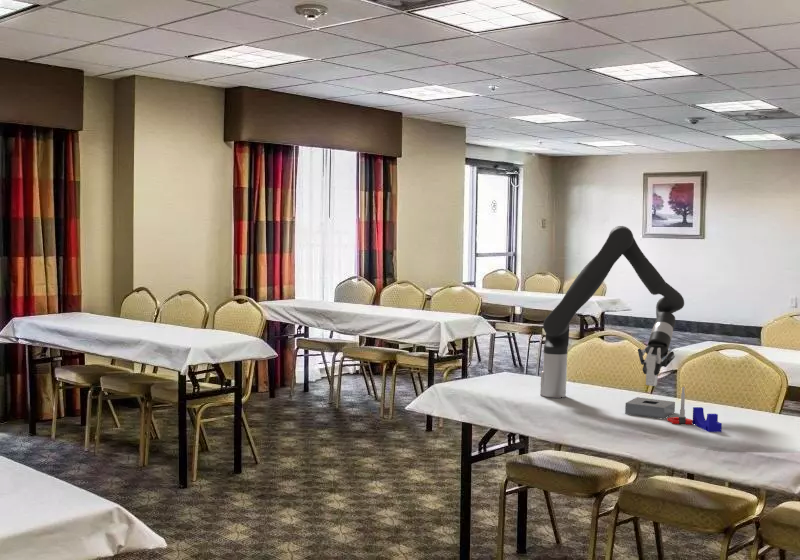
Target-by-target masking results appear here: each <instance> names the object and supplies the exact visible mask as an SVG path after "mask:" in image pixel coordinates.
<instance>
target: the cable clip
mask: <svg viewBox="0 0 800 560" xmlns="http://www.w3.org/2000/svg"><path fill="white" fill-rule="evenodd" d="M718 417H719V414H718V413H707V414H706V417H705V413H704V407H701V406H700V407H699V406H697V407H695V406H694V407H692V420H693V422H692V423H693V424H692V425H694V424H695V425H694V426H696V427H698V428H700V429H702V430H704V431H706V432H708V433H722V427H723V426H722V423H721V422H719V421H718V419H719V418H718Z"/></svg>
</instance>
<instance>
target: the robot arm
mask: <svg viewBox="0 0 800 560" xmlns="http://www.w3.org/2000/svg"><path fill="white" fill-rule="evenodd" d="M622 256H623V257H624V258H625V259H626V260H627V262H628V263H629V264H630V265H631V267H632V268H633V270H634V272H635V273H636V275H637V277H638V278H639V279H640V281H641V282H642V283H643V285H644V287H645V288H646V289H647V290H648V291H649V293H650V294H651V295H653V296H656V295H661V296H662V298H660V299H659V300H658V301H657V302H656V305H655V315H656V316H655V321H654V325H653V327H652V329H651V331H650V335H649V339H648V342H647V345H646V347H645V348H643V349H641V348H638V349H637V353H638V358H639V361H640V365H643V366H642V373H643V374H644V375H646V362H647V355H648V354H655V355H658V360H657V364H656V367H655V370H654V374H655V375H657V376H658V375H659V374H660V371H661V368H663V367H664V368H667V366H669V364H670V363H671V362H672V361H673V360H674V358H675V356H676V355H675V352H674V351H669V349H670V345H671V341H672V339H673V332H674V328H675V324H676V317H675V315H674V313H676V312H678V311H680V310H682V309H683V308H684V306H685V300H684V299H685V298H684V297H683V295H682V294H681V293H680V292H679V291H678V290H677V289H675V288H674V287H673V286H672V285H670V284H669V283H667V282H666V279H664V278H663V276H662V275H661V274H660V272H659V271H658V270H657V268H656V267H655V266H654V265H653V263H651V261H649V259H648V257H646V255H645V253H644V252H642V250H641V249H640V246H639V245H638V243H637V241H636V239H635V238H634V233H633V232H632V230H631V229H630V228H629V227H627V226H624V225H617V226H615V227H613V228H612V229H611V230H610V232H609V234H608V237H607V239H606V240H605V243H604V244H603V245H602V247H601V249H600V250H599V251H598V253H597V254H595V256H594V257H593V258H592V259H591V260H590V261H589V262H588V263H586V265H585V266H584V267H583V269H581V271H580V272H579V274H577V276H576V278H574V281H573V282H572V283H571V285H570V286H569V287H568V289H567V291H566V293H565V294H564V296H563V297H562V299H561V300H560V302H559V303H558V304H557V305H556V306H555V307H554V309H552V311H550V313H549V314H548V315H547V316H546V317H545V318H544V321H543V324H542V327H543V331H544V332H545V340H544V341H545V342H544V345H543V361H542V362H543V365H542V371H541V372H540V389H539V390H540V392H539V393H540V396H543V397H545V398H551V399H552V398H554V399H555V398H557V399H558V398H559V399H560V398H561V397H562V398H566V397H565V396H567V394H566V393H567V392H566V391H567V369H568V368H567V367H568V347H569V342H570V341H569V340H570V322H571V320H572V319H573V317H574V316H575V315H576V313H577V312H578V311H579V310H580V309H581V308H582V307H583V306H584V305H586V304H587V302H588V301H589V300H590V299H591V298H592V297H593V296H594V295H595V293H596V292H597V291H598V290H599V288H600V287H601V285H602V284H603V283H604V282H605V279H606V278H607V276H609V273H610V272H611V270H612V268H613V266H614V265H615V263H616V262H617V261H618V260H619V259H620V258H621V257H622ZM645 354H646V355H645ZM644 355H645V359H644ZM663 358H664V359H663Z"/></svg>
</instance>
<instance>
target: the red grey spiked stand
mask: <svg viewBox="0 0 800 560" xmlns="http://www.w3.org/2000/svg"><path fill="white" fill-rule="evenodd" d="M685 390H686V389H685V386H682V387H681V394H680V395H681V396H680V409H679V416H678V417H677V416H674V417H673V416H671V417H670V416H668V417H667V418H666V420H667V421H668V422H670V423H671V424H672V425H681V424H686V425H687V426H689V425H690V426H692V425H693V424H692V422H693V419H691V418H687V417H686V409H685V402H686V400H685V399H686V394H685ZM686 425H685V426H686Z"/></svg>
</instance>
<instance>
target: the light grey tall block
mask: <svg viewBox="0 0 800 560" xmlns="http://www.w3.org/2000/svg"><path fill="white" fill-rule="evenodd" d="M646 356H647V362H646V374H645V385H646V386H651V387H652V386H653V387H655V386H657V385H658V374H657V375H655V374H654V370H655V367H656V364H657V360H658V355H655V354H648V355H647V354H646Z"/></svg>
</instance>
